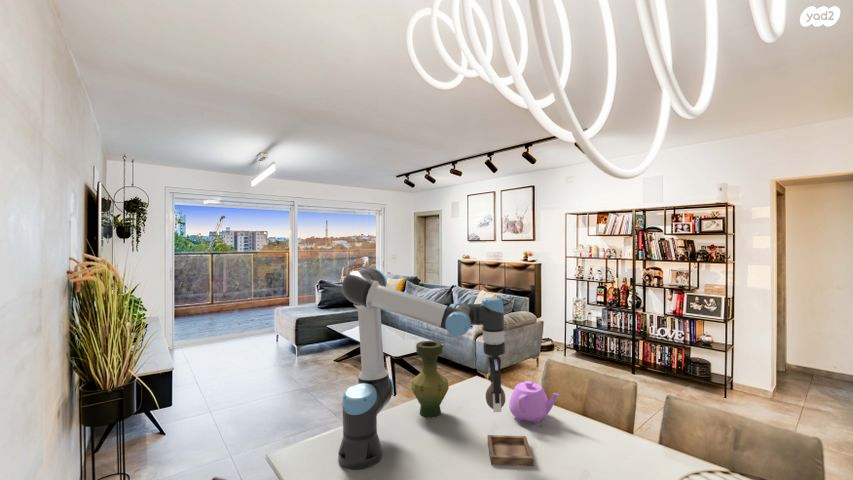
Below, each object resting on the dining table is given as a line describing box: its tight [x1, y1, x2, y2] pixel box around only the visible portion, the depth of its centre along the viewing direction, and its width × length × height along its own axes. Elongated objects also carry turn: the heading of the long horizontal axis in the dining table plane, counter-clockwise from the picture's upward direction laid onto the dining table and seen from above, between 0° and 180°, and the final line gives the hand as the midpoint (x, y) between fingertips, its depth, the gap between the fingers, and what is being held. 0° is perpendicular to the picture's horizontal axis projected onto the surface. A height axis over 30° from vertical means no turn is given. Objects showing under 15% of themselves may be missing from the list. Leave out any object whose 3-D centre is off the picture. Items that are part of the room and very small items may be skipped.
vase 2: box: [485, 382, 506, 410], centre depth 133 cm, size 7×7×9 cm
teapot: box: [508, 380, 560, 426], centre depth 156 cm, size 20×20×15 cm
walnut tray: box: [487, 434, 535, 467], centre depth 132 cm, size 14×14×3 cm
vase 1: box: [410, 340, 449, 419], centre depth 164 cm, size 16×16×30 cm
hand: (496, 406), depth 133 cm, fingers closed on vase 2, 7 cm apart
